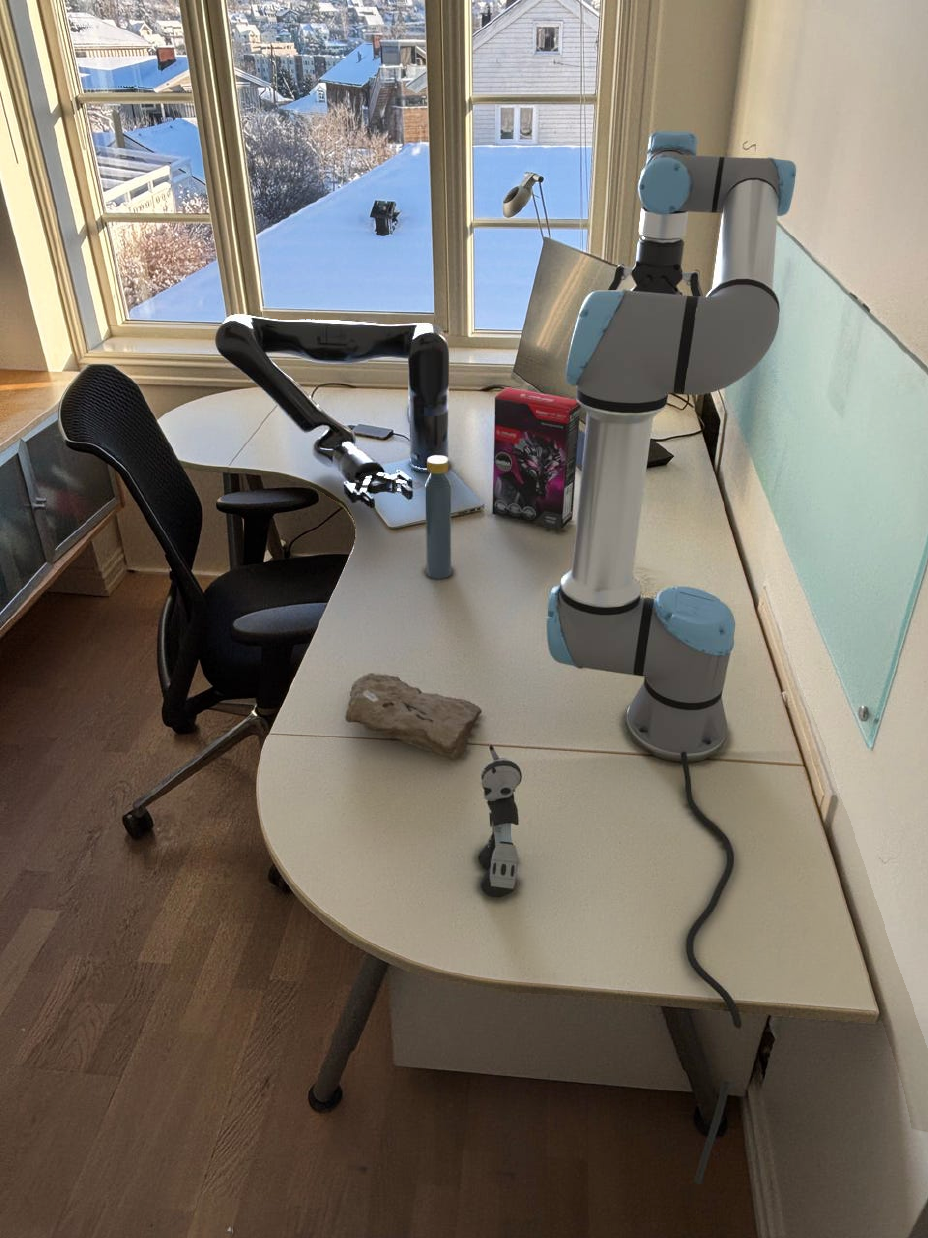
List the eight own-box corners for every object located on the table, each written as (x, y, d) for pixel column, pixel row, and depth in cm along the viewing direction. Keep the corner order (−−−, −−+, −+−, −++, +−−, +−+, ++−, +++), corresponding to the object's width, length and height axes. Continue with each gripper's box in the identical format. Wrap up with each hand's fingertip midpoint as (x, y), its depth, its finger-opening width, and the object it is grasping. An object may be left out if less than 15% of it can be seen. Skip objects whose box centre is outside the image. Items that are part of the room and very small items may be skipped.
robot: (523, 934, 111) (531, 817, 100) (483, 936, 111) (487, 818, 100) (509, 815, 128) (514, 703, 117) (474, 816, 127) (476, 704, 116)
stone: (319, 730, 137) (326, 695, 135) (356, 690, 151) (363, 658, 148) (450, 779, 134) (460, 744, 131) (477, 733, 147) (486, 701, 145)
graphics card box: (489, 515, 202) (492, 395, 187) (503, 502, 207) (507, 384, 192) (561, 533, 196) (570, 410, 180) (573, 519, 201) (583, 399, 186)
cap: (433, 463, 172) (433, 453, 171) (452, 467, 171) (452, 457, 170) (423, 470, 169) (423, 461, 168) (442, 475, 168) (442, 465, 167)
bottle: (434, 563, 185) (432, 454, 172) (455, 569, 183) (455, 459, 170) (422, 574, 181) (419, 463, 168) (443, 581, 179) (443, 469, 166)
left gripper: (330, 461, 200) (360, 490, 189) (390, 449, 206) (422, 476, 194) (332, 492, 204) (361, 523, 193) (391, 479, 210) (422, 508, 198)
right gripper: (741, 238, 151) (720, 366, 163) (591, 227, 157) (581, 351, 169) (737, 248, 145) (716, 379, 157) (582, 236, 151) (572, 363, 163)
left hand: (392, 499), depth 193 cm, fingers open, 8 cm apart
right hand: (646, 365), depth 163 cm, fingers open, 13 cm apart
